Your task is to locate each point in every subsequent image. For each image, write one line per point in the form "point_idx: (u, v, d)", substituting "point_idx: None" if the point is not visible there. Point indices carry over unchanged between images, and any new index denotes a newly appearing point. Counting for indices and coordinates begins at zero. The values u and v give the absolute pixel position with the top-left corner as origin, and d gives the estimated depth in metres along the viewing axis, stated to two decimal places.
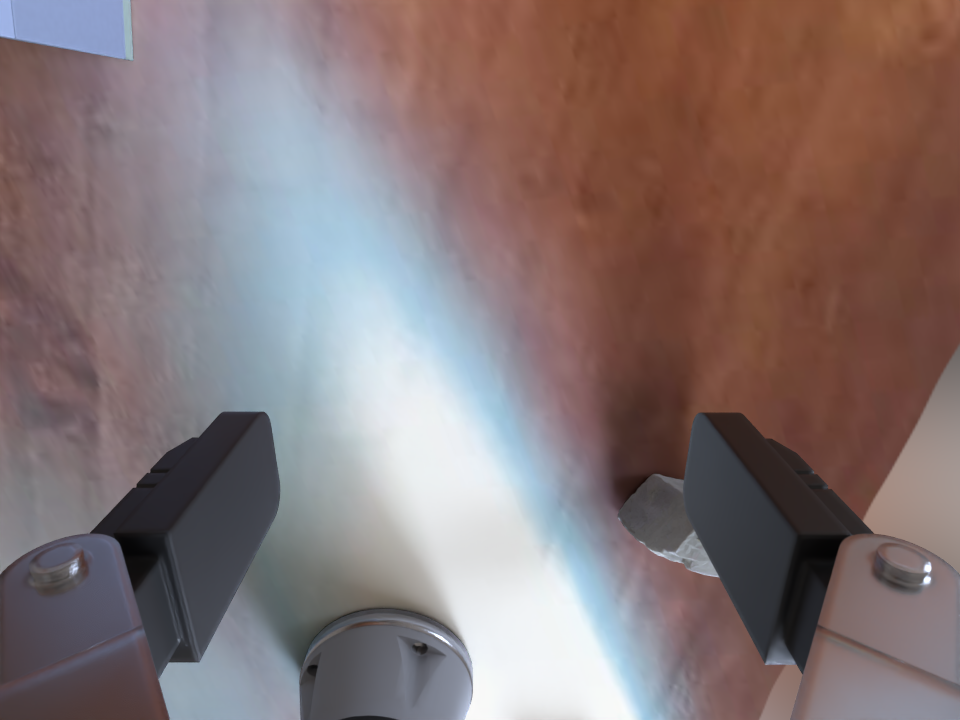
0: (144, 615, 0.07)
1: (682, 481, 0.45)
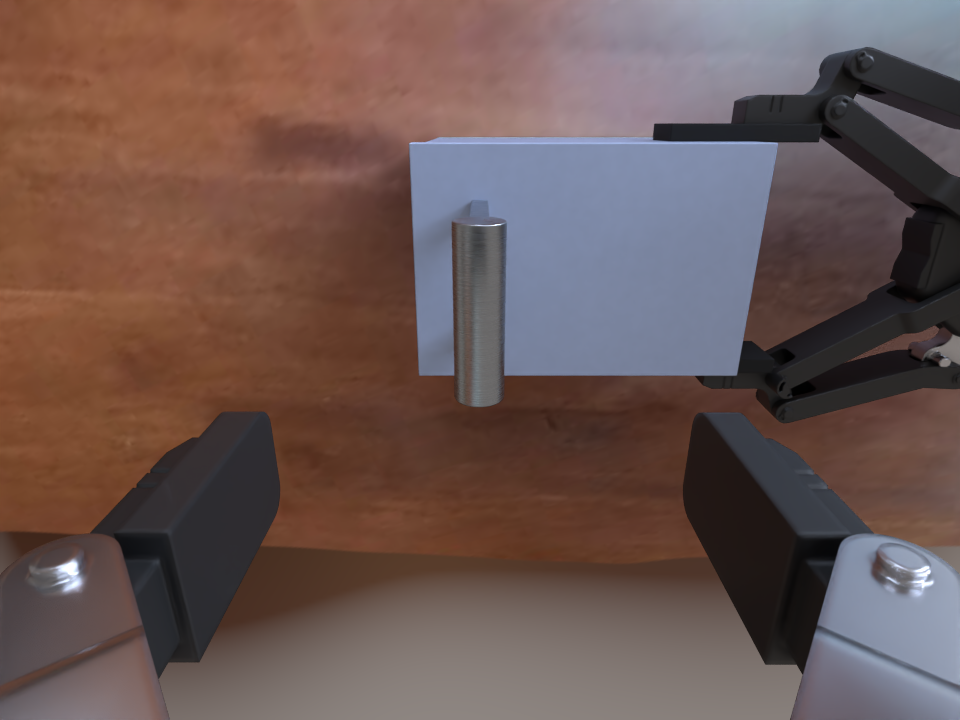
0: (144, 615, 0.07)
1: None
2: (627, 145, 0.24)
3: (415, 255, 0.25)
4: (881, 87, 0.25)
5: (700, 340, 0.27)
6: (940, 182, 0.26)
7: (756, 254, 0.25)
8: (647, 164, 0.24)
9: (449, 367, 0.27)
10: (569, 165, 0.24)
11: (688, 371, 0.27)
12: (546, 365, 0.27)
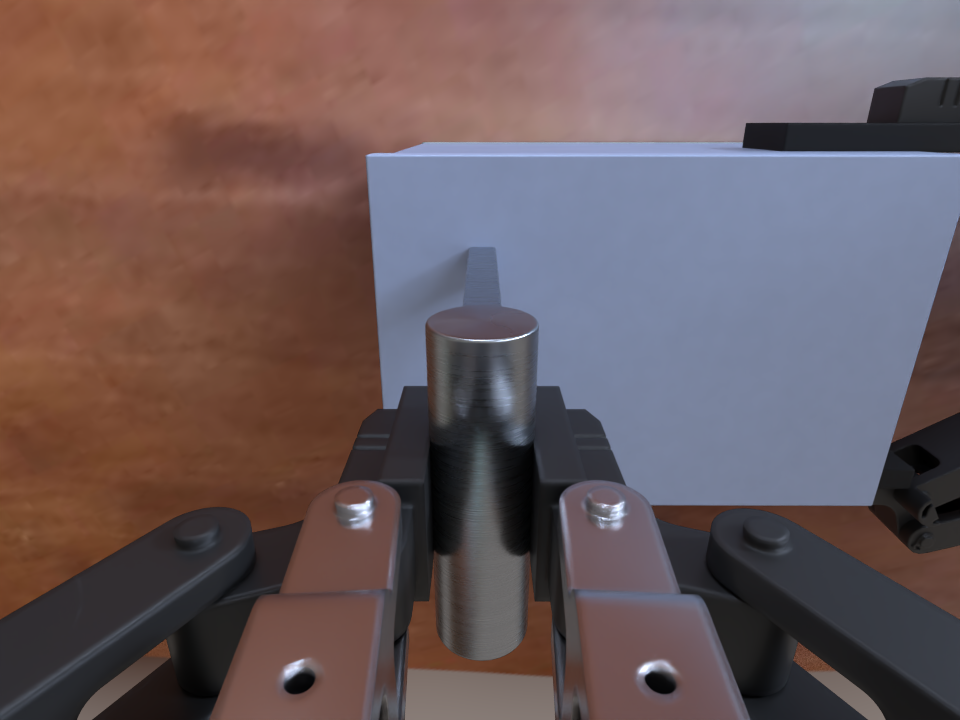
0: (409, 552, 0.08)
1: None
2: (726, 159, 0.14)
3: (380, 331, 0.16)
4: None
5: (822, 455, 0.17)
6: None
7: (921, 330, 0.16)
8: (757, 190, 0.15)
9: None
10: (629, 191, 0.15)
11: (799, 499, 0.18)
12: None
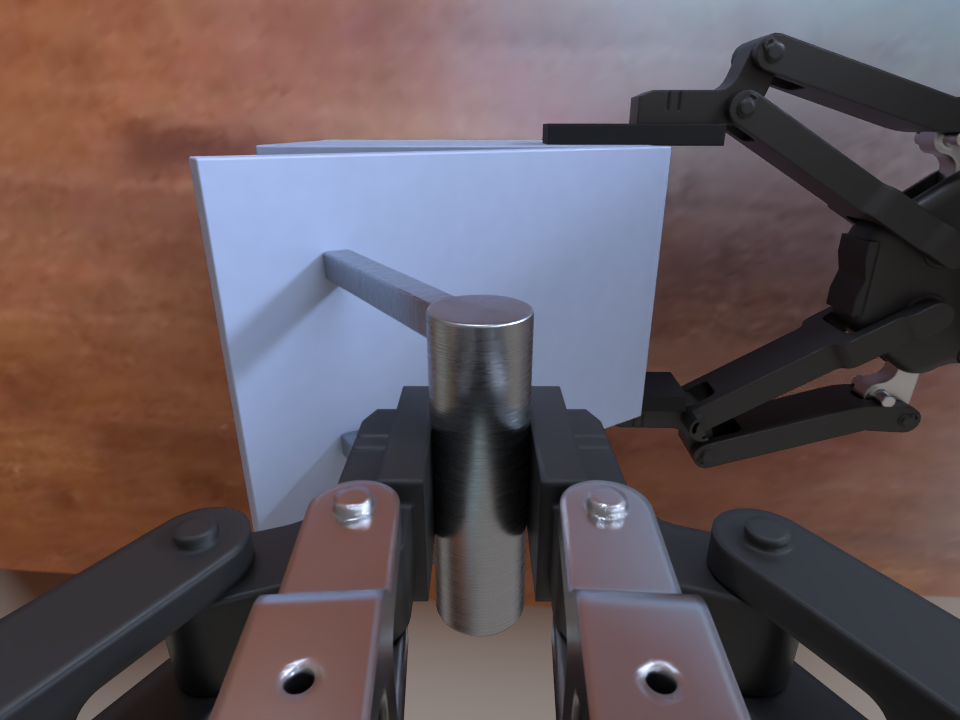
0: (409, 552, 0.08)
1: None
2: (529, 153, 0.17)
3: (233, 359, 0.14)
4: (796, 80, 0.21)
5: (609, 386, 0.22)
6: (872, 193, 0.22)
7: (655, 277, 0.21)
8: (551, 179, 0.18)
9: None
10: (461, 185, 0.16)
11: None
12: None
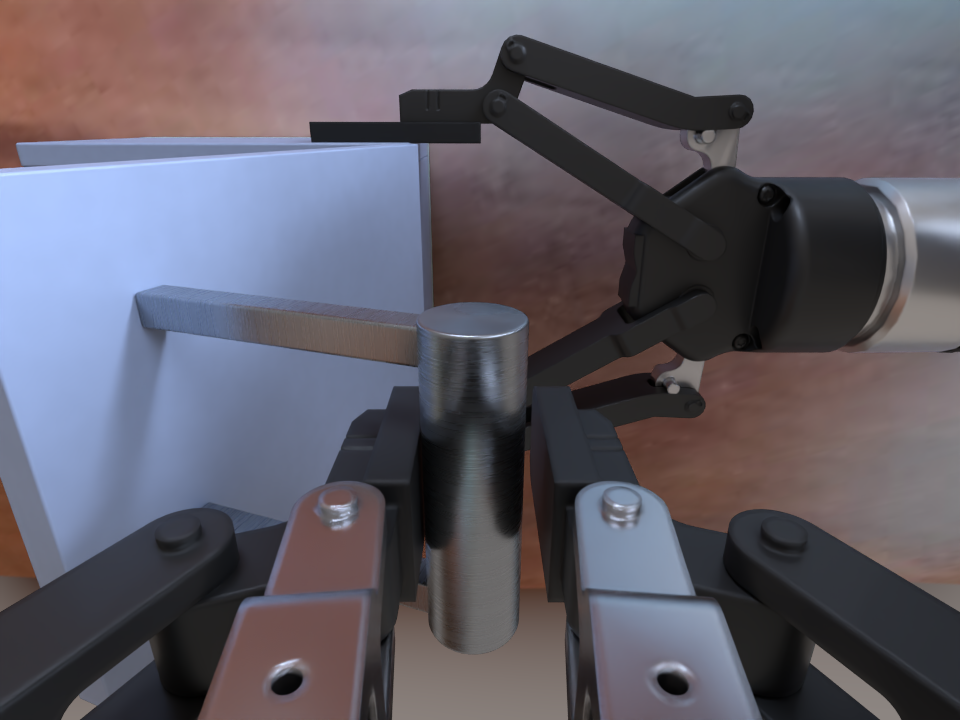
0: (394, 553, 0.08)
1: None
2: (319, 154, 0.16)
3: (36, 467, 0.10)
4: (542, 81, 0.22)
5: (404, 381, 0.22)
6: (629, 189, 0.23)
7: None
8: (339, 181, 0.17)
9: None
10: (265, 193, 0.14)
11: None
12: None
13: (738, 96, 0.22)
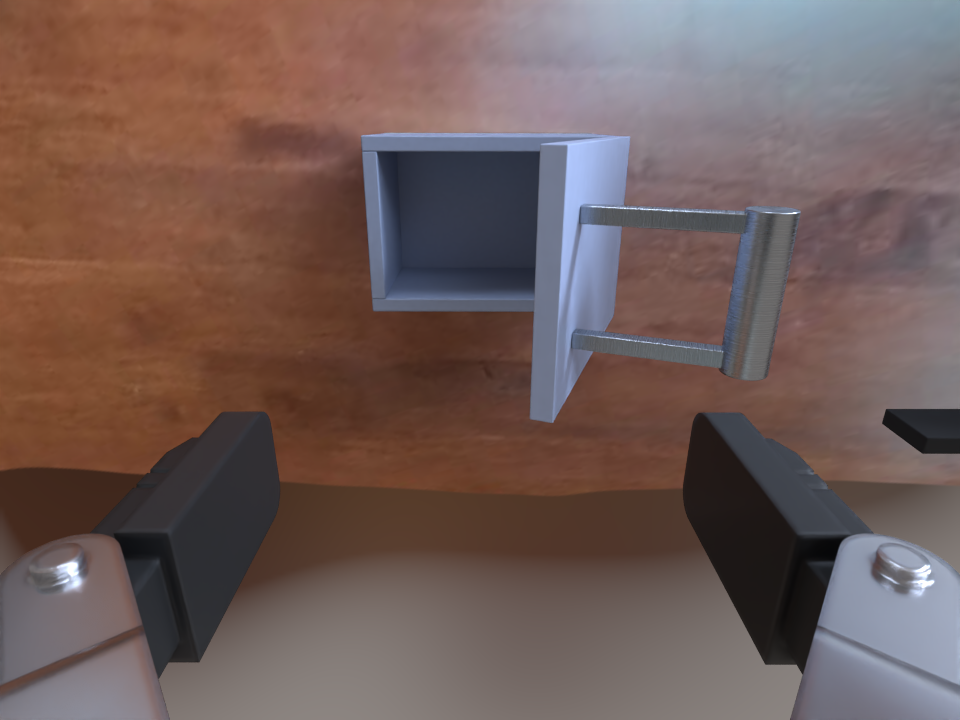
0: (144, 615, 0.07)
1: None
2: (612, 140, 0.27)
3: (560, 281, 0.21)
4: None
5: (611, 295, 0.34)
6: None
7: None
8: (613, 157, 0.28)
9: (562, 398, 0.24)
10: (601, 161, 0.25)
11: (607, 323, 0.34)
12: (584, 358, 0.28)
13: None
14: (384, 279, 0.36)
